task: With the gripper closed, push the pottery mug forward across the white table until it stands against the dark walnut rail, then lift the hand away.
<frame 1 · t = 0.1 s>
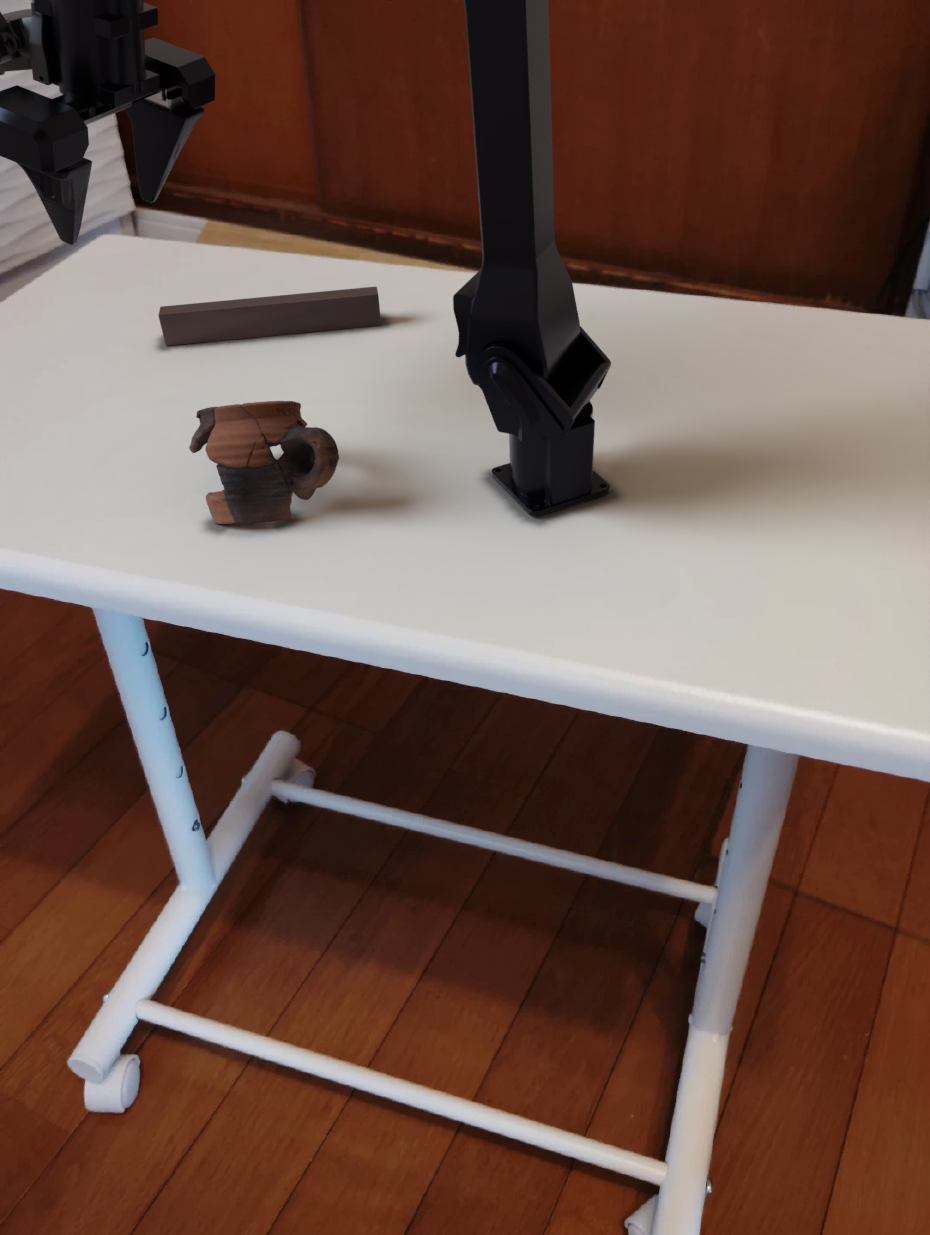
hand: (110, 220, 75), 15 cm above the table, tool pointing down, fingers open, 9 cm apart
rail: (274, 331, 95), on the table
pottery mug: (274, 496, 74), on the table
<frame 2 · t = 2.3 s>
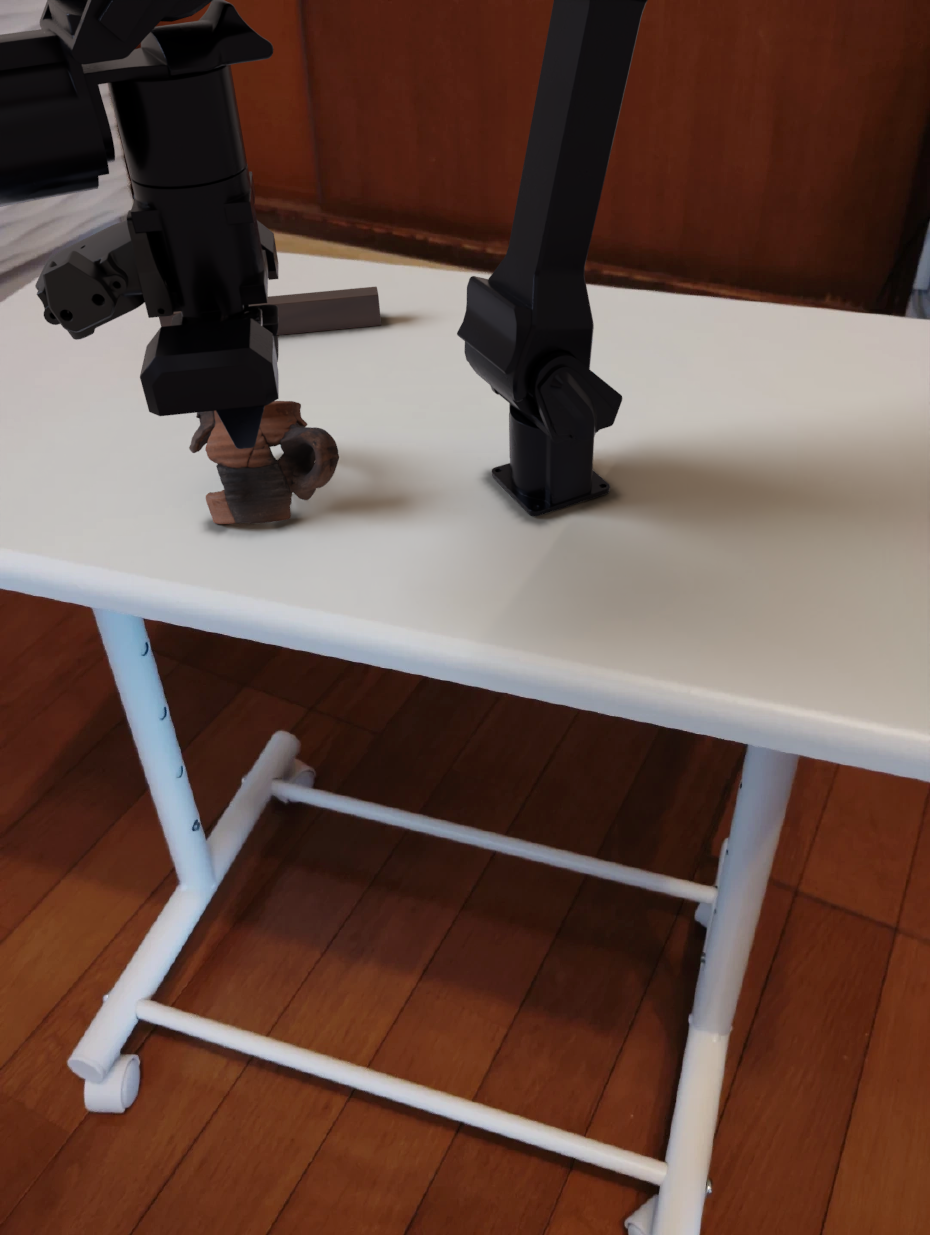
hand: (245, 445, 60), 10 cm above the table, tool pointing down, fingers closed
nothing on the table moved.
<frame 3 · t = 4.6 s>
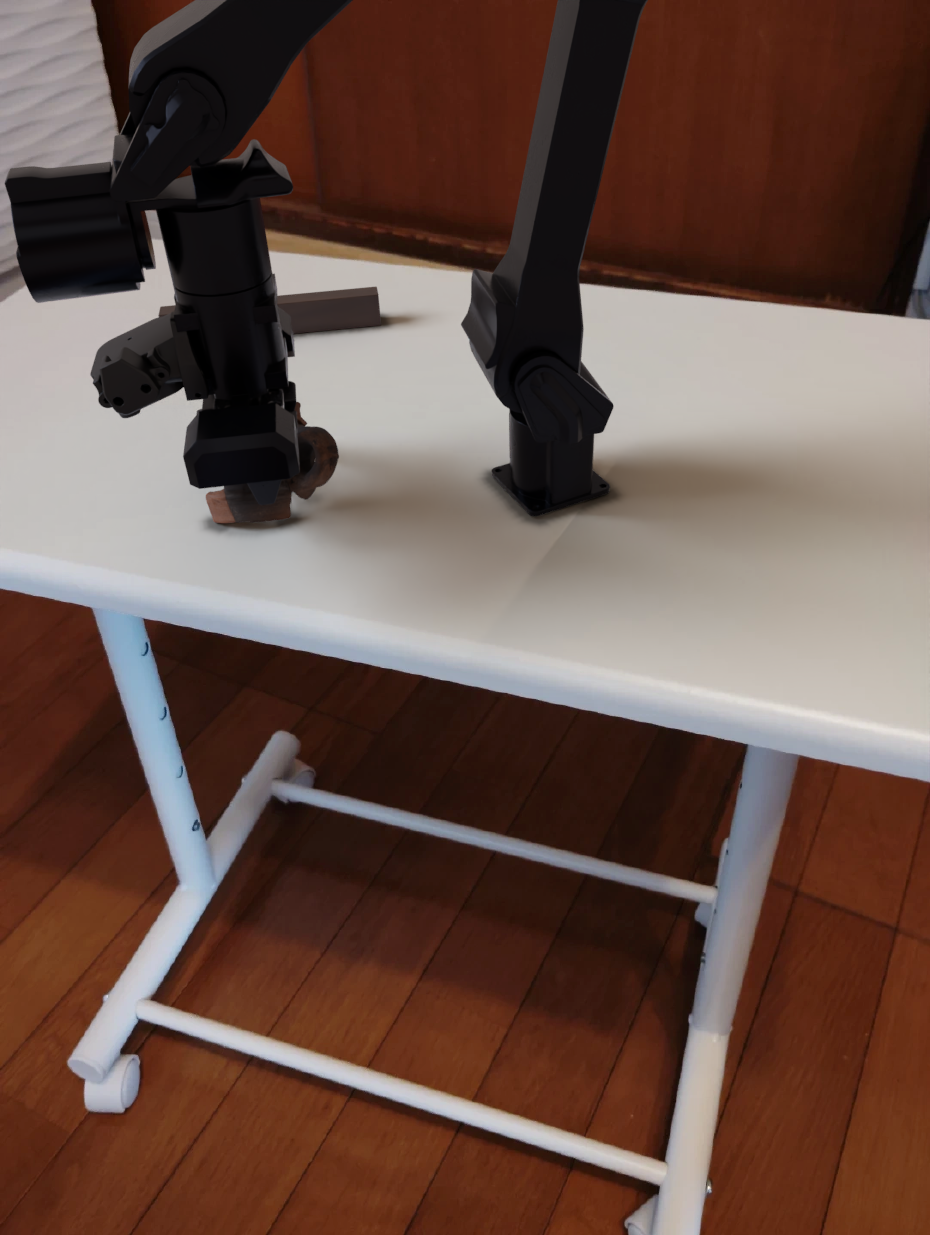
hand: (266, 502, 69), 3 cm above the table, tool pointing down, fingers closed
pottery mug: (274, 495, 74), on the table, touching gripper
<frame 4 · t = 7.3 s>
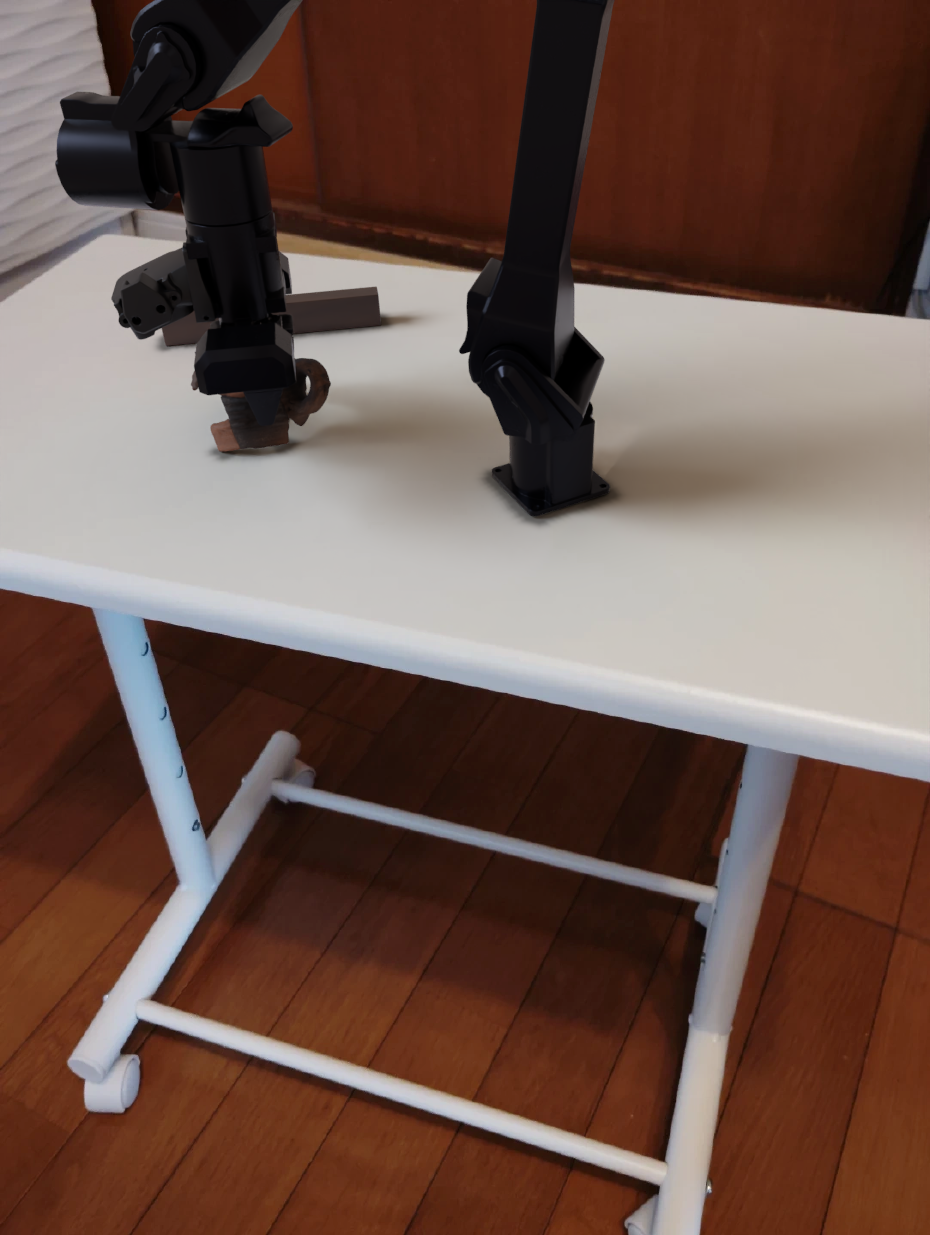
hand: (266, 423, 77), 3 cm above the table, tool pointing down, fingers closed
pottery mug: (268, 427, 82), on the table, touching gripper
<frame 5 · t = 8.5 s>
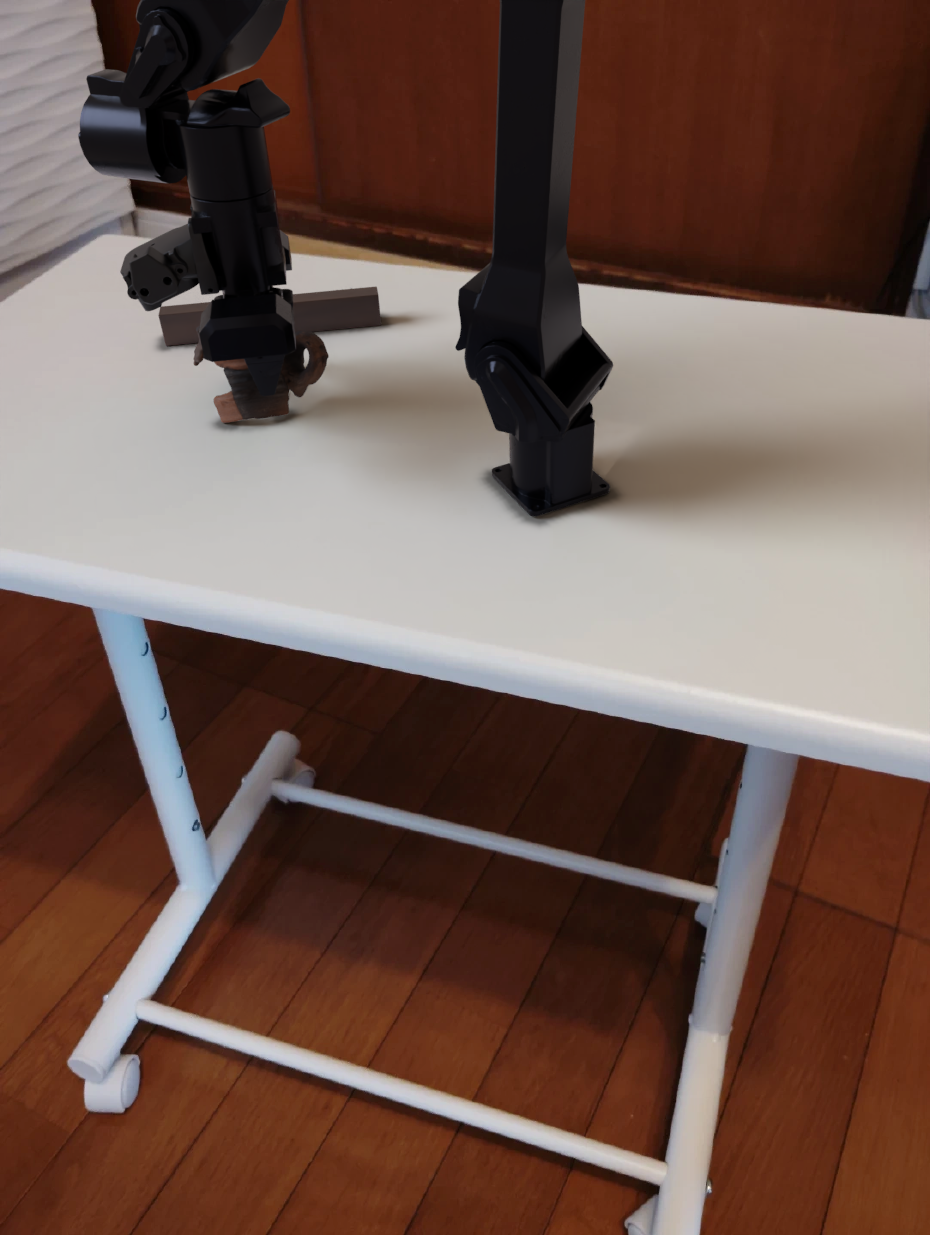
hand: (268, 394, 80), 3 cm above the table, tool pointing down, fingers closed
pottery mug: (268, 399, 86), on the table, touching gripper
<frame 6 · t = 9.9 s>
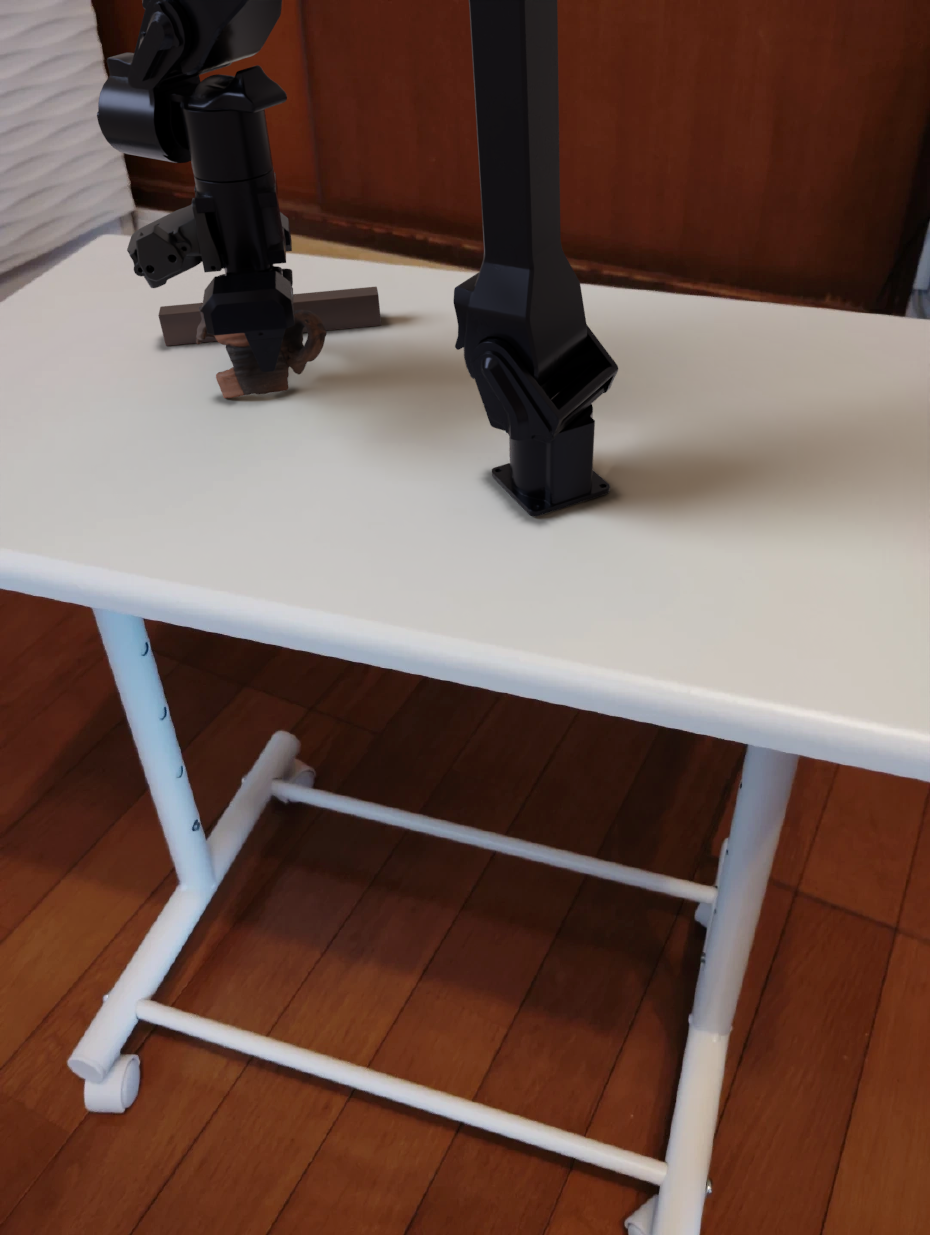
hand: (268, 370, 83), 3 cm above the table, tool pointing down, fingers closed
pottery mug: (268, 377, 89), on the table, touching gripper
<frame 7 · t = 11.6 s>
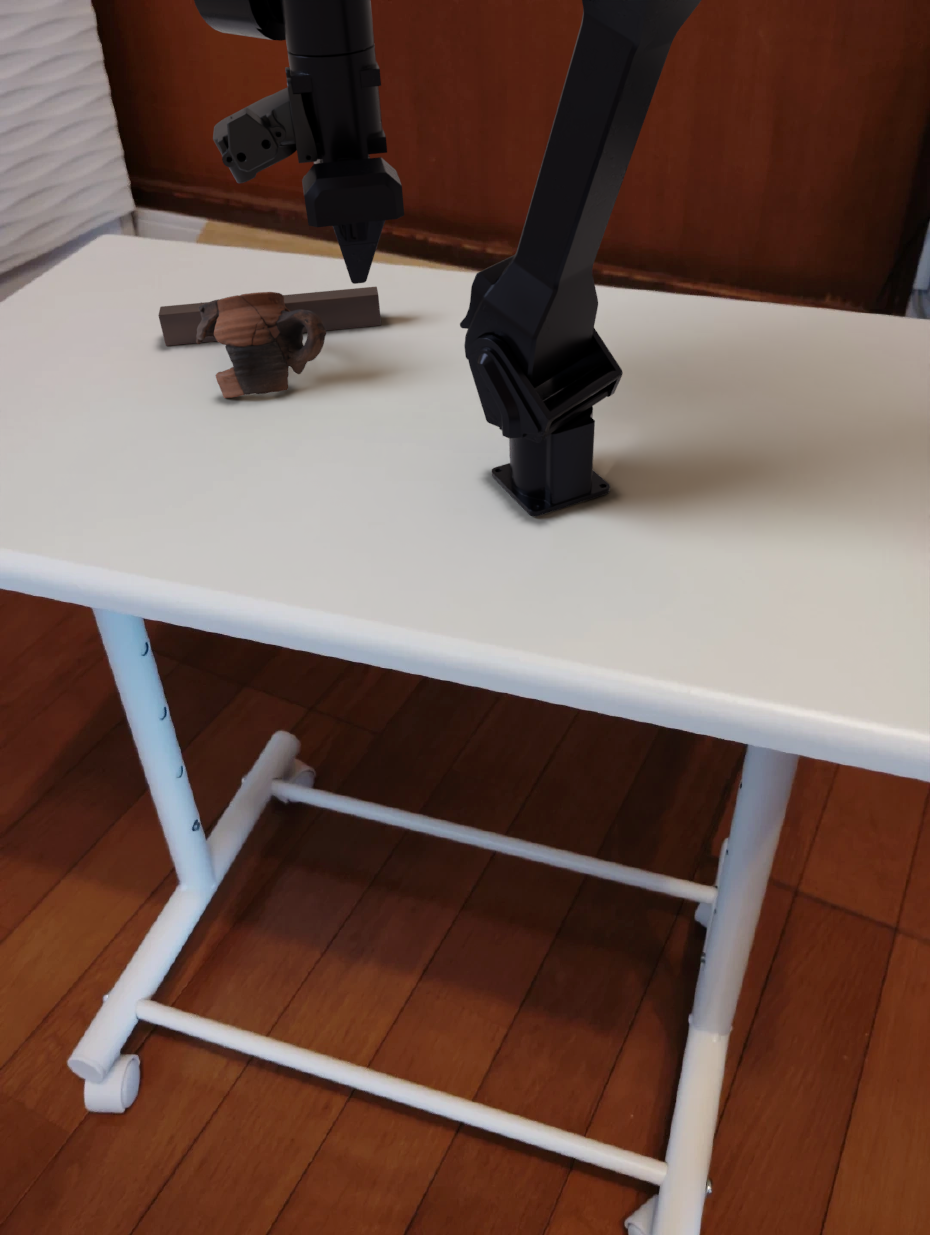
hand: (358, 281, 76), 11 cm above the table, tool pointing down, fingers closed
pottery mug: (268, 376, 89), on the table
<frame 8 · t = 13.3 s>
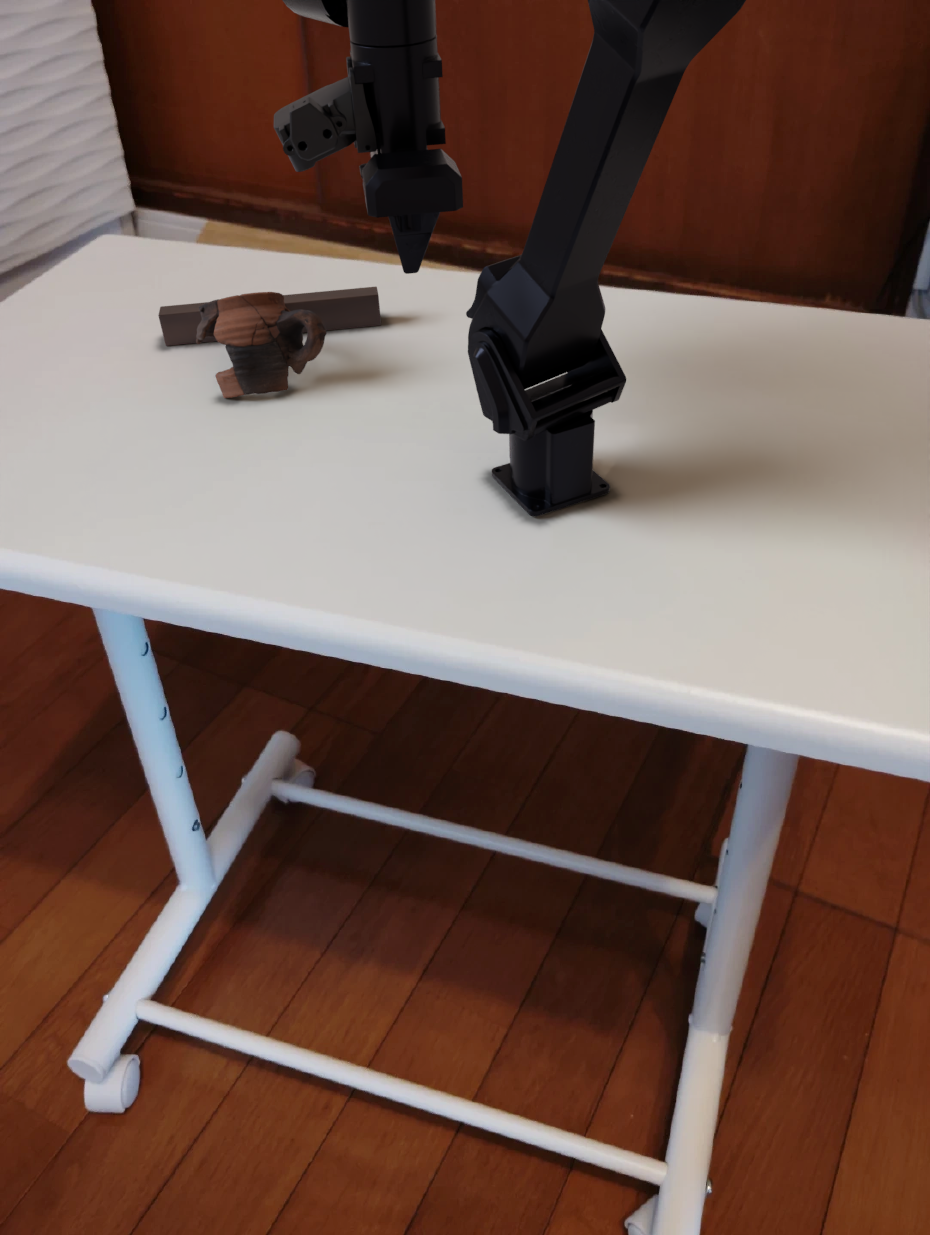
hand: (410, 271, 77), 11 cm above the table, tool pointing down, fingers closed
nothing on the table moved.
at the end: pottery mug 8.8 cm from the rail (horizontally); pottery mug tilted 0°; pottery mug moved 19.2 cm from its start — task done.
